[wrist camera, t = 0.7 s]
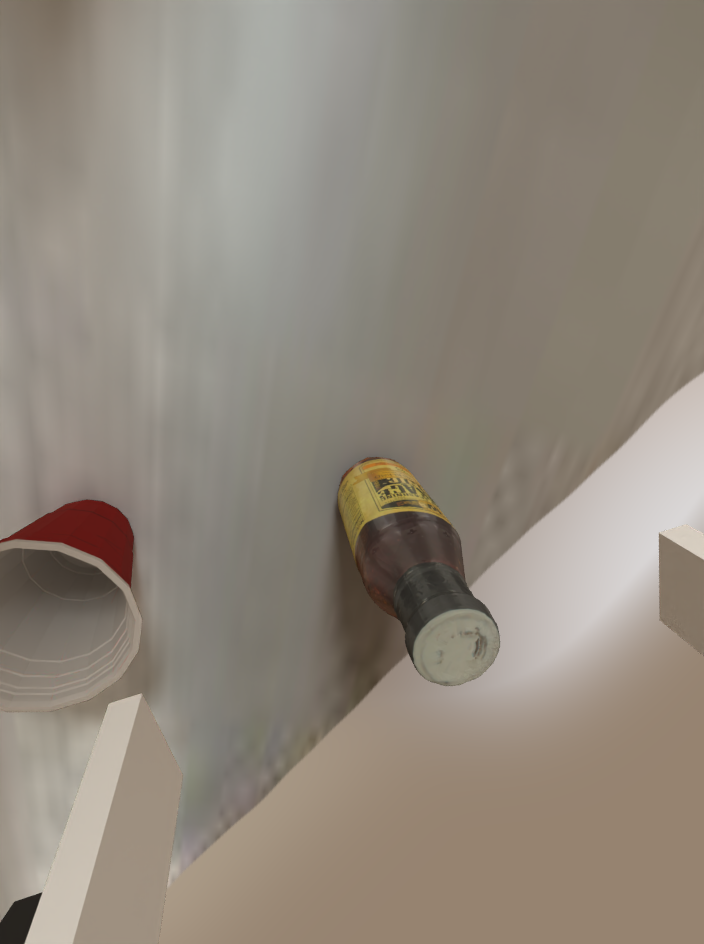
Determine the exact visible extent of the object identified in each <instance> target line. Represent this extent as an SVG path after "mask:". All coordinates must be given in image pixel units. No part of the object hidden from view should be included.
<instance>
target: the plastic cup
mask: <svg viewBox="0 0 704 944" xmlns="http://www.w3.org/2000/svg"><path fill="white" fill-rule="evenodd" d="M133 541H134V536H133V532H132V529H131V527H130V524H129V521H128V519H127V518H126V517H125V516H124V515H123V514H122V513H121V512H120V511H119V510H118V509H117V508H115V507H113V506H111V505H109V504H107V503H105V502H102V501H94V500H82V501H78V502H73V503H69V504H65V505H64V506H62V507H61V508H59V509H57V510H56V511H54V512H52V513H48V514H46V515H44V516H43V517H41V518H39V519H38V520H36V521H34V522H33V523H31V524H29V525H28V526H26V527H25V528H23V529H21V530H20V531H18V532H16V533H15V534H13V535H11V536H10V537H8V538H5V539H2V540H0V710H2V711H5V712H50V711H54V710H57V709H61V708H64V707H67V706H71V705H74V704H77V703H81V702H84V701H87V700H90V699H92V698H93V697H94V696H96V695H97V694H99V693H100V692H102V691H103V690H105V689H106V688H107V687H109V686H110V685H112V684H113V683H115V682H116V681H118V680H119V679H120V678H121V677H122V675H123V674H124V672H125V671H126V669H127V668H128V666H129V665H130V663H131V662H132V660H133V659H134V657H135V656H136V654H137V653H138V651H139V644H140V636H141V627H142V617H141V614H140V611H139V609H138V606H137V604H136V601H135V599H134V596H133V594H132V591H131V577H132V563H133V552H132V550H133Z"/></svg>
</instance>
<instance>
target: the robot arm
mask: <svg viewBox="0 0 704 944" xmlns="http://www.w3.org/2000/svg"><path fill="white" fill-rule="evenodd" d="M659 603H660V604H659V605H660V607H659V608H660V621H661V622H662V623H664V624H665V625H666V626H667V627H669V628H670V629H671V630H672V631H673V632H675V633H676V634H677V635H678V636H680V637H681V638H682V639H683V640H684V641H686V642H687V643H688V644H690V645H691V646H692V647H693V648H694V649H696V650H697V651H698V652H699V653H700V654H702V655H703V656H704V534H703V533H701V532H699V531H698V530H696V529H694V528H692V527H690V526H688V525H682V526H679V527H676V528H673V529H670V530H666V531H663V532H660V533H659ZM182 780H183V775H182V773H181V771H180V768H179V766H178V764H177V762H176V760H175V758H174V756H173V754H172V752H171V750H170V748H169V746H168V744H167V742H166V740H165V738H164V736H163V734H162V732H161V730H160V728H159V726H158V724H157V722H156V720H155V718H154V716H153V714H152V712H151V710H150V708H149V706H148V704H147V702H146V700H145V698H144V696H143V694H142V693H141V694H137V695H134V696H131V697H128V698H124V699H121V700H118V701H115V702H112V703H109V704H108V707H107V710H106V713H105V716H104V719H103V722H102V724H101V727H100V730H99V733H98V736H97V739H96V742H95V744H94V747H93V750H92V753H91V756H90V759H89V761H88V764H87V767H86V770H85V773H84V776H83V779H82V781H81V784H80V787H79V790H78V793H77V796H76V799H75V801H74V804H73V807H72V810H71V813H70V816H69V818H68V821H67V824H66V827H65V830H64V833H63V836H62V838H61V841H60V844H59V847H58V850H57V853H56V856H55V858H54V861H53V864H52V867H51V870H50V873H49V875H48V878H47V881H46V884H45V887H44V890H43V892H42V893H39V894H36V895H33V896H30V897H27V898H24V899H21V900H18V901H15V902H14V903H13V905H12V906H11V908H10V909H9V911H8V912H7V914H6V915H5V917H4V918H3V919H2V921H1V922H0V944H159V937H160V930H161V923H162V917H163V909H164V903H165V895H166V889H167V882H168V875H169V869H170V862H171V855H172V848H173V841H174V834H175V828H176V821H177V814H178V807H179V800H180V793H181V786H182Z"/></svg>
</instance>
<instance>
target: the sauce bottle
mask: <svg viewBox="0 0 704 944" xmlns="http://www.w3.org/2000/svg"><path fill="white" fill-rule="evenodd" d="M338 507H339V511H340V514H341V517H342V520H343V524H344V527H345V530H346V533H347V536H348V539H349V543H350V546H351V549H352V552H353V556H354V559H355V562H356V566H357V568H358V570H359V572H360V574H361V577H362V580H363V583H364V586H365V588H366V590H367V592H368V594H369V596H370V597H371V598H372V600H373V601H374V602H375V603H376V604H377V605H378V606H379V607H380V608H381V609H382V610H384V611H385V612H387V613H388V614H389V615H392V616H394V617H396V618H397V619H398V620H400V621H401V623H402V625H403V628H404V630H405V633H406V634H405V643H406V647H407V650H408V653H409V656H410V657H411V660H412V662H413V664H414V666H415V668H416V670H417V671H418V672H419V673H420V675H422V676H423V677H424V678H425V679H427V680H428V681H430V682H434V683H437V684H440V685H444V686H455V685H461V684H463V683H465V682H467V681H471V680H474V679H476V678H477V677H479V676H481V675H482V674H483V673H484V672H485V671H486V670H487V669H488V668H489V667H490V666H491V665H492V663H493V662H494V660H495V658H496V656H497V654H498V651H499V648H500V637H499V631H498V626H497V624H496V622H495V621H494V619H493V617H492V615H491V614H490V611H489V610H488V609H487V607H486V606H485V605H484V604H483V603H482V602H481V601H479V600H478V599H476V598H475V597H474V596H473V594H472V592H471V591H470V590H469V588H468V587H467V583H466V581H465V574H464V565H463V557H462V549H461V540H460V537H459V535H458V533H457V531H456V530H455V528H454V527H453V526H452V524H451V523H450V522H449V521H448V519H447V518H446V517H445V516H444V514H443V513H442V512H441V511H440V509H439V507H438V506H437V505H436V504H435V502H434V501H433V500H432V499H431V498H430V496H429V495H428V494H427V493H426V491H425V490H424V489H423V488H422V487H421V485H420V484H419V483H418V481H417V480H416V479H415V478H414V476H413V475H412V474H411V473H410V472H409V471H408V470H407V469H406V468H405V467H404V466H402V465H400V464H399V463H398V462H396V461H394V460H391V459H387V458H380V457H375V458H374V457H371V458H366V459H364V460H361V461H359V462H358V463H357V464H355V465H353V467H351V468H350V469H349V470H348V471H346V473H345V474H344V475H343V477H342V480H341V482H340V485H339V492H338Z"/></svg>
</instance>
